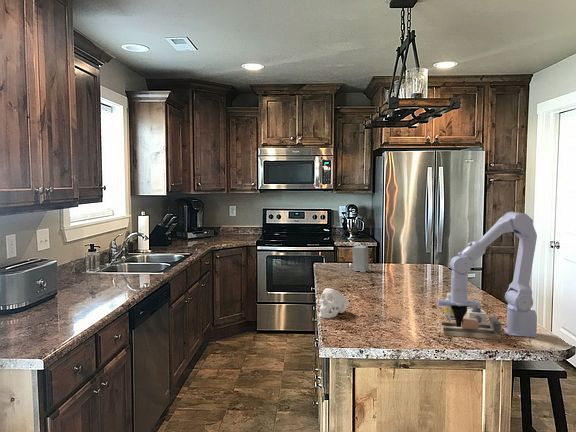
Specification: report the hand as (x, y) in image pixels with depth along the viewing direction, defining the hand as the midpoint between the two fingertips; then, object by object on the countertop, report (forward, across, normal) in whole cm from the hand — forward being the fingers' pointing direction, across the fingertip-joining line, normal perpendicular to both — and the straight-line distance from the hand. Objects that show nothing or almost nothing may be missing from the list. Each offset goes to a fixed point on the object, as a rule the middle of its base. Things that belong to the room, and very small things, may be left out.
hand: (458, 326), depth 172 cm
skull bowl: (+3, -48, +14) cm, 50 cm away
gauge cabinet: (+2, +8, +11) cm, 14 cm away
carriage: (+1, +4, 0) cm, 4 cm away
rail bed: (+2, +4, 0) cm, 5 cm away
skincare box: (+3, -43, +116) cm, 124 cm away
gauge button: (0, +8, +11) cm, 14 cm away
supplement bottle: (+3, 0, +20) cm, 20 cm away
